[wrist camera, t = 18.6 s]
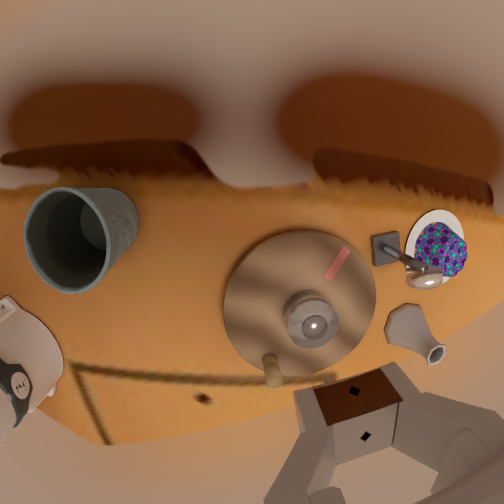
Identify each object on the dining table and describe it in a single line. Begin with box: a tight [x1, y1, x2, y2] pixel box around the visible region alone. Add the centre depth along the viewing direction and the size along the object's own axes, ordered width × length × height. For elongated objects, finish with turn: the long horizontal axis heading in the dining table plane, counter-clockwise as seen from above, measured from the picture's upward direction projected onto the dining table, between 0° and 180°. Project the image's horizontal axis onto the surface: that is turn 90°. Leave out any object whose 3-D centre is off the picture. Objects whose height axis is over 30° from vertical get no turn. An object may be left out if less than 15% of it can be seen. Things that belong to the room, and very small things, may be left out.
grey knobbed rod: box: [371, 231, 443, 289], centre depth 34 cm, size 4×4×12 cm
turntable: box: [223, 230, 376, 388], centre depth 37 cm, size 20×20×7 cm
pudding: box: [405, 210, 467, 284], centre depth 39 cm, size 12×12×5 cm
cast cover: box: [283, 290, 339, 349], centre depth 36 cm, size 6×6×4 cm
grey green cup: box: [24, 187, 139, 294], centre depth 31 cm, size 10×10×12 cm
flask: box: [384, 303, 446, 365], centre depth 39 cm, size 7×7×10 cm
